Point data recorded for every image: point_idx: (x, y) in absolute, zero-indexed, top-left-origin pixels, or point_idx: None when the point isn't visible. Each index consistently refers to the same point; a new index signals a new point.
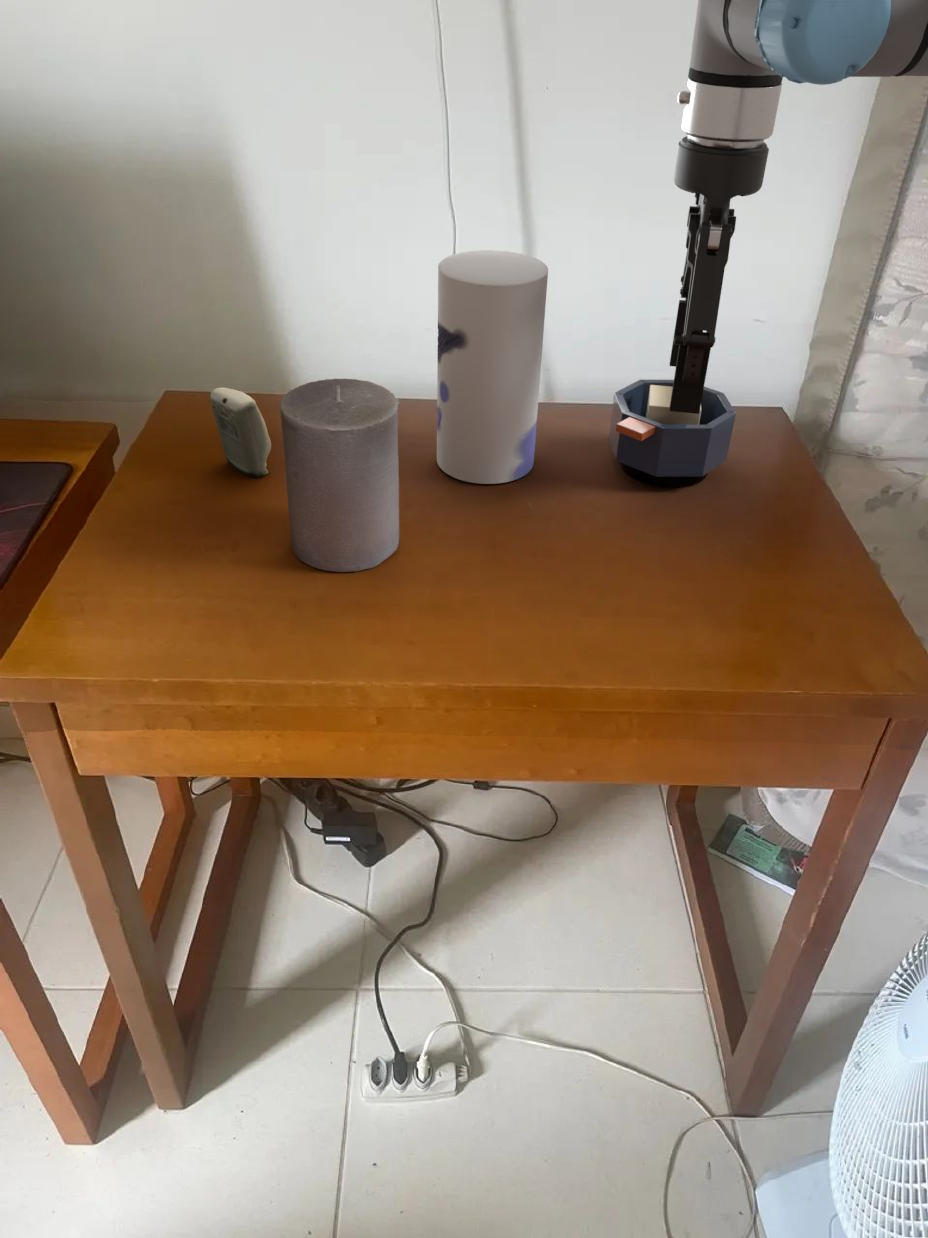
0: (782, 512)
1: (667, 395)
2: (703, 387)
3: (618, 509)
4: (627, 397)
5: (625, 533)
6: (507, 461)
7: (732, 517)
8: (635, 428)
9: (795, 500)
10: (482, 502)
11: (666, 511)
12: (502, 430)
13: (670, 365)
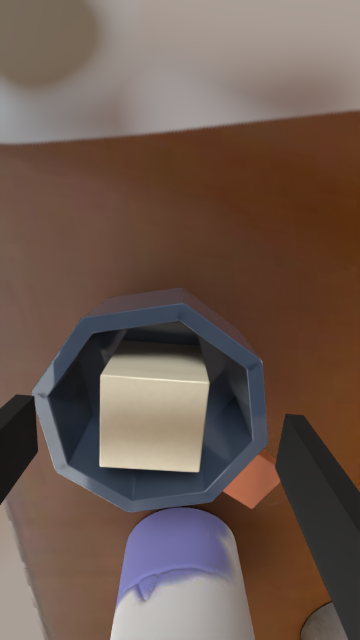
0: (276, 206)
1: (148, 440)
2: (337, 462)
3: (278, 418)
4: (119, 481)
5: (332, 413)
6: (235, 558)
7: (292, 283)
8: (269, 484)
9: (239, 178)
10: (269, 543)
11: (280, 365)
12: (250, 619)
13: (37, 450)
